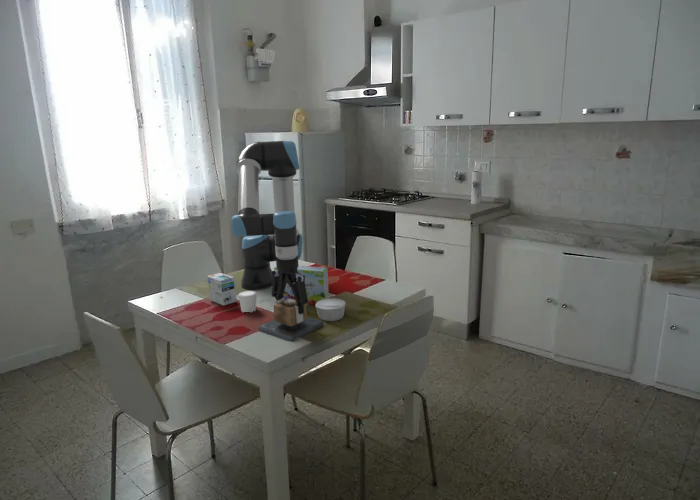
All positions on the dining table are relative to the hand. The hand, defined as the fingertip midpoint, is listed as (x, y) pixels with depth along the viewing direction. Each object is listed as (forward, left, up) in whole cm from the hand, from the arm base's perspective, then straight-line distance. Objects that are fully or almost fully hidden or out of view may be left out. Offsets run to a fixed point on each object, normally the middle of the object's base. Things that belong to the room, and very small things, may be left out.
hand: (290, 319), depth 168 cm
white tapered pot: (-26, +3, -3) cm, 26 cm away
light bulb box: (-43, +4, -4) cm, 43 cm away
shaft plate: (0, 0, -3) cm, 3 cm away
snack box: (-14, +21, -4) cm, 25 cm away
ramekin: (+5, +16, -4) cm, 17 cm away
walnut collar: (0, 0, 0) cm, 0 cm away
